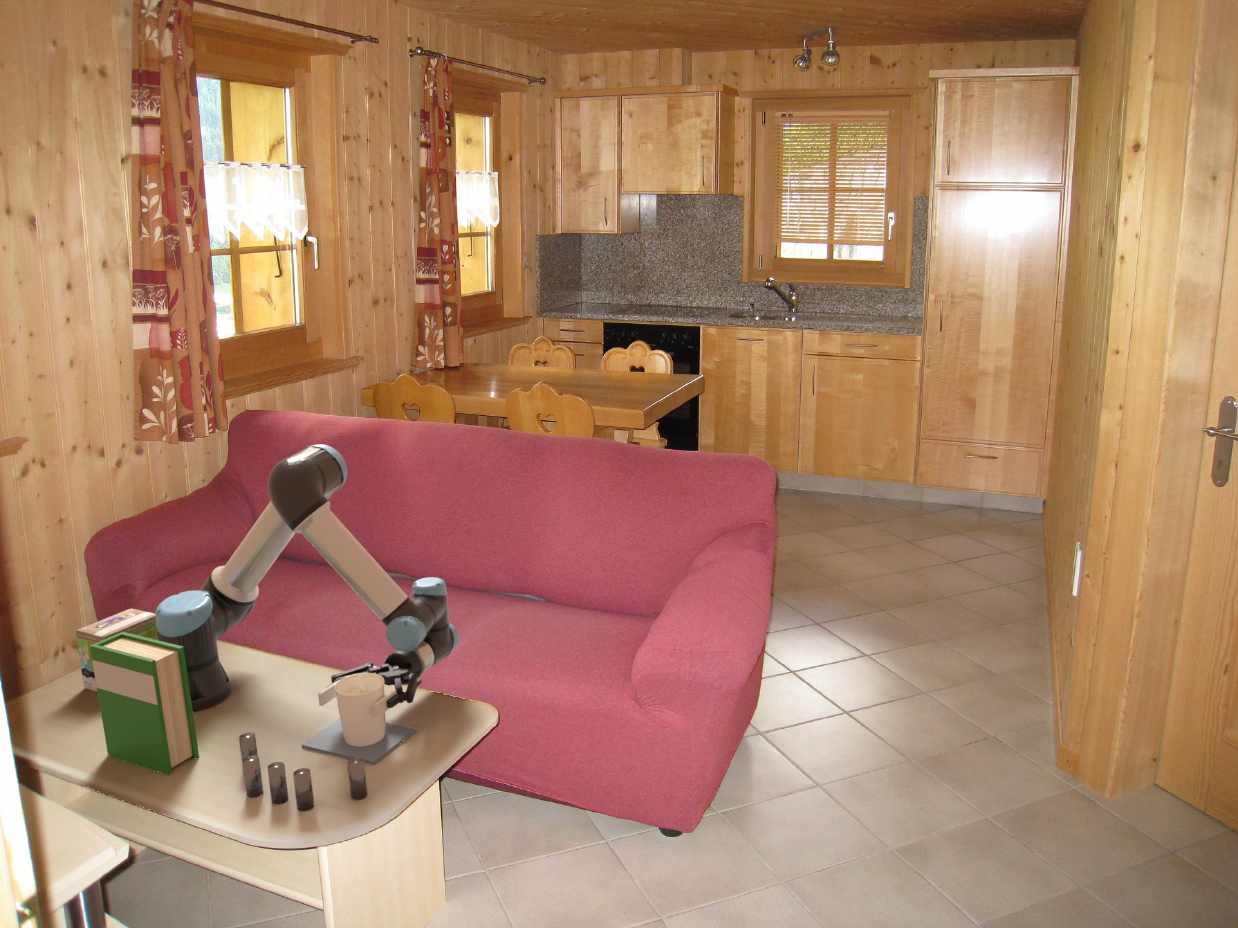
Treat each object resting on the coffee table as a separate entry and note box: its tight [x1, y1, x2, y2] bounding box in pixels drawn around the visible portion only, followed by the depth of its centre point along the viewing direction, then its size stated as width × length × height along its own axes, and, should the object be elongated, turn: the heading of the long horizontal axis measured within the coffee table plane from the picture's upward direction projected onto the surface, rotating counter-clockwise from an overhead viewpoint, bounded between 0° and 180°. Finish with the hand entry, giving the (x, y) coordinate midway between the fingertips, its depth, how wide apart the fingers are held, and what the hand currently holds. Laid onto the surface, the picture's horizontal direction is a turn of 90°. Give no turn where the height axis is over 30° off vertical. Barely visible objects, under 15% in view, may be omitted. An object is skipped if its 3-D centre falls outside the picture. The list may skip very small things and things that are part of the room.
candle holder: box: [335, 673, 386, 747], centre depth 205 cm, size 10×10×12 cm
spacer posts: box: [238, 731, 368, 812], centre depth 188 cm, size 29×10×7 cm, turn 66°
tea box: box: [75, 608, 159, 693], centre depth 235 cm, size 15×10×15 cm
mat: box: [301, 717, 417, 765], centre depth 207 cm, size 18×14×1 cm
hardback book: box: [90, 632, 200, 776], centre depth 199 cm, size 18×7×24 cm, turn 63°
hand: (347, 705), depth 202 cm, fingers open, 13 cm apart
